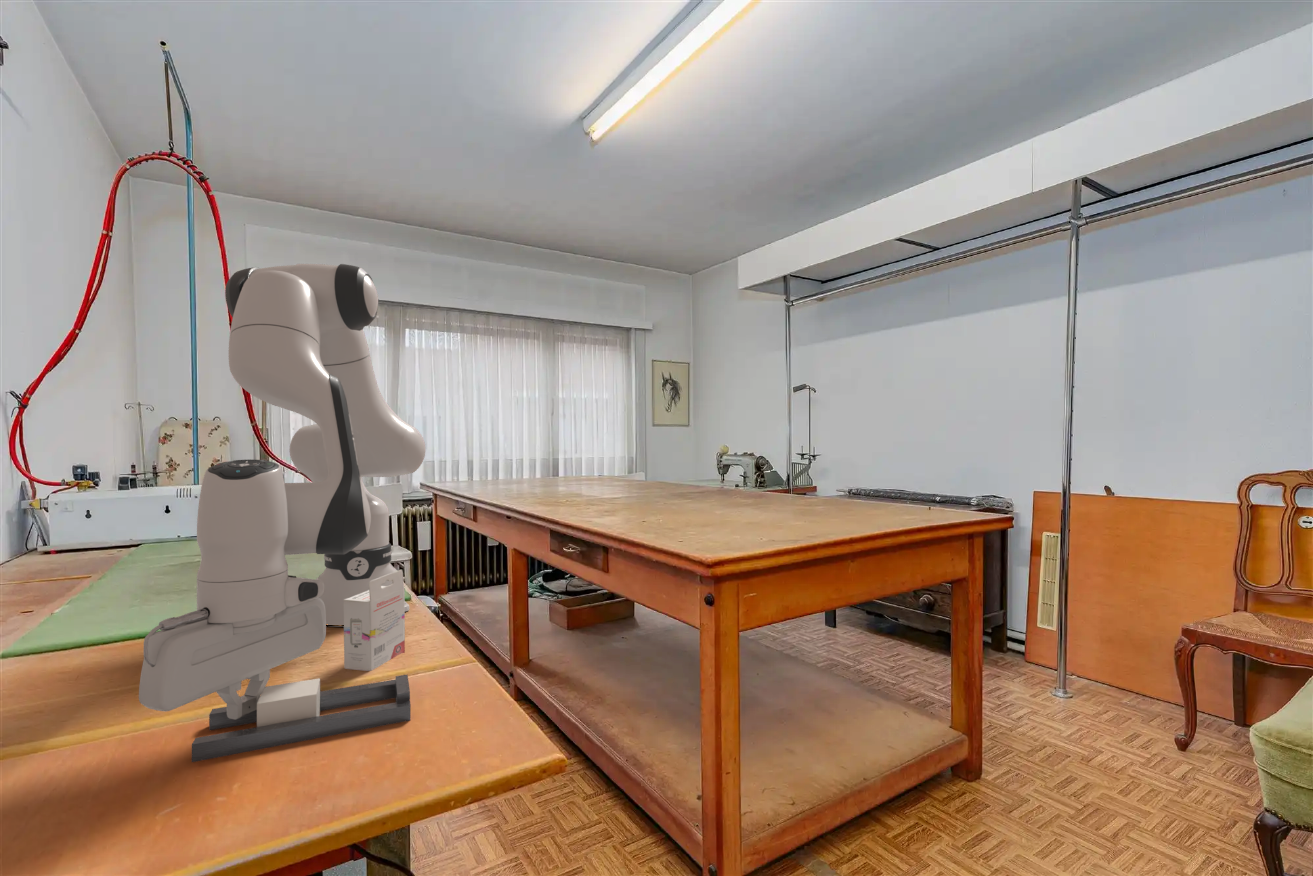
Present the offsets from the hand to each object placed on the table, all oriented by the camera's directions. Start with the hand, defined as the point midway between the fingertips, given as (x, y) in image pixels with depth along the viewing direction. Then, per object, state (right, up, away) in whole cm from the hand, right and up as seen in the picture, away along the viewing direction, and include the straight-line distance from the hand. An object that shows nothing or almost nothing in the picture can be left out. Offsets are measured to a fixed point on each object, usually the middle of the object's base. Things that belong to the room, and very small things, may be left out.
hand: (243, 713), depth 69 cm
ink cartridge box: (+4, -4, +23) cm, 24 cm away
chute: (+6, -4, +3) cm, 8 cm away
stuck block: (+4, -3, +2) cm, 5 cm away
